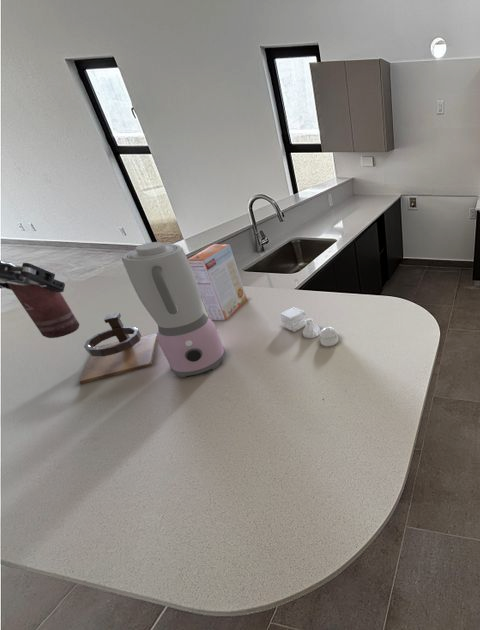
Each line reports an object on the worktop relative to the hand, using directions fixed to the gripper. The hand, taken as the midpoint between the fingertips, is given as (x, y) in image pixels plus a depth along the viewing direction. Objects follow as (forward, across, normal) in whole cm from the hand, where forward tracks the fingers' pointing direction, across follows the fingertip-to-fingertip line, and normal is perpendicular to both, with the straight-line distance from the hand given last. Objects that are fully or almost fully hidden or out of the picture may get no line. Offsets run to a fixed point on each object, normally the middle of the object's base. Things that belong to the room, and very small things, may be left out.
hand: (45, 288), depth 71 cm
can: (+6, 0, +8) cm, 10 cm away
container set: (+27, -49, +7) cm, 57 cm away
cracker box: (+39, -19, -5) cm, 43 cm away
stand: (+21, -2, +12) cm, 25 cm away
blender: (+18, -24, +16) cm, 34 cm away
